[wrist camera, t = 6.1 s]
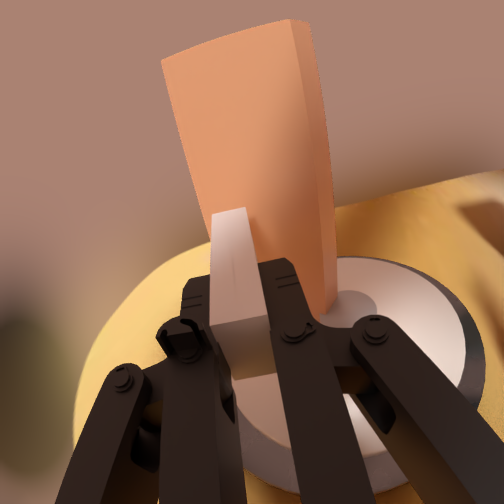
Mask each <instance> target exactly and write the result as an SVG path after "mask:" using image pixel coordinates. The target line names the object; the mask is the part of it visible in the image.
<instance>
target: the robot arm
mask: <svg viewBox="0 0 504 504" xmlns="http://www.w3.org/2000/svg"><path fill="white" fill-rule="evenodd" d="M155 338H156V339H157V341H158V343H159V344H160V346H161V347H162V349H163V351H164V352H165V354H166V355H167V358H166V359H165V360H163V361H161V362H160V363H158V364H155V365H153V366H150V367H148V368H146V369H143V370H141V368H140V367H139V366H138V365H135V364H132V363H126V364H122V365H119V366H117V367H115V368H114V369H113V370H112V371H110V373H109V374H108V375H107V377H106V379H105V381H104V383H103V385H102V387H101V389H100V391H99V394H98V396H97V398H96V400H95V402H94V405H93V407H92V409H91V411H90V414H89V416H88V418H87V421H86V423H85V425H84V428H83V430H82V433H81V435H80V437H79V440H78V442H77V445H76V447H75V450H74V452H73V455H72V457H71V460H70V463H69V465H68V468H67V471H66V473H65V476H64V479H63V481H62V484H61V487H60V490H59V493H58V496H57V499H56V502H55V504H157V502H158V499H159V504H247V497H246V488H245V480H244V471H243V462H242V452H241V442H240V433H239V422H238V412H237V401H236V394H235V391H234V389H233V387H232V380H231V375H232V377H233V379H234V381H236V380H242V379H247V378H253V377H258V376H263V375H268V374H273V373H277V376H278V381H279V386H280V392H281V397H282V402H283V407H284V413H285V418H286V423H287V428H288V434H289V439H290V444H291V449H292V455H293V460H294V465H295V471H296V476H297V481H298V486H299V492H300V497H301V502H302V504H376V501H375V498H374V494H373V491H372V487H371V484H370V480H369V477H368V473H367V470H366V466H365V463H364V460H363V456H362V453H361V450H360V447H359V443H358V440H357V437H356V434H355V430H354V427H353V424H352V421H351V418H350V415H349V412H348V408H347V405H346V402H345V399H344V396H343V394H349V396H350V397H351V398H352V400H353V401H354V403H355V404H356V406H357V407H358V409H359V410H360V411H361V413H362V414H363V416H364V417H365V419H366V420H367V422H368V423H369V424H370V426H371V427H372V429H373V430H374V432H375V433H376V435H377V436H378V438H379V439H380V440H381V442H382V443H383V445H384V446H385V448H386V449H387V451H388V452H389V453H390V455H391V456H392V458H393V459H394V461H395V462H396V463H397V465H398V466H399V468H400V469H401V471H402V472H403V474H404V475H405V476H406V478H407V479H408V481H409V482H410V484H411V485H412V487H413V488H414V489H415V491H416V492H417V494H418V495H419V497H420V498H421V500H422V501H423V502H424V504H504V443H503V441H502V440H501V439H500V438H499V437H498V435H497V434H496V433H495V432H494V430H493V429H492V428H491V427H490V426H489V424H488V423H487V422H486V421H485V420H484V419H483V417H482V416H481V415H480V414H479V413H478V411H477V410H476V409H475V408H474V407H473V406H472V405H471V403H470V402H469V401H468V400H467V399H466V398H465V397H464V395H463V394H462V393H461V392H460V391H459V390H458V389H457V388H456V386H455V385H454V384H453V383H452V382H451V381H450V380H449V379H448V378H447V376H446V375H445V374H444V373H443V372H442V371H441V370H440V369H439V368H438V367H437V366H436V364H435V363H434V362H433V361H432V360H431V359H430V358H429V357H428V356H427V355H426V354H425V353H424V352H423V351H422V350H421V348H420V347H419V346H418V345H417V344H416V343H415V342H414V341H413V340H412V339H411V338H410V337H409V336H408V335H407V334H406V333H405V332H404V331H403V330H402V329H401V328H400V327H399V326H398V325H397V324H396V323H395V322H394V321H393V320H391V319H390V318H389V317H386V316H382V315H367V316H364V317H361V318H360V319H359V320H357V321H356V322H355V323H354V325H353V327H352V328H335V327H329V326H325V325H323V324H321V323H319V322H318V321H317V320H316V319H315V318H314V317H313V316H312V314H311V312H310V309H309V306H308V303H307V300H306V298H305V295H304V292H303V289H302V287H301V284H300V281H299V278H298V276H297V273H296V270H295V268H294V265H293V264H292V263H291V262H290V261H289V260H287V259H286V258H285V257H283V258H279V259H274V260H270V261H265V262H261V263H258V261H257V256H256V251H255V247H254V243H253V238H252V234H251V229H250V225H249V220H248V216H247V211H246V207H242V208H238V209H233V210H229V211H224V212H220V213H216V214H212V224H211V257H210V274H209V275H205V276H200V277H195V278H191V279H189V280H188V282H187V283H186V285H185V287H184V288H183V293H182V301H181V310H180V316H178V317H175V318H172V319H170V320H169V321H167V322H165V323H164V324H163V325H162V326H161V327H160V329H159V330H158V332H157V334H156V337H155Z"/></svg>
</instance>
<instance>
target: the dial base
mask: <svg viewBox="0 0 504 504" xmlns="http://www.w3.org/2000/svg"><path fill="white" fill-rule="evenodd" d="M337 258H365V259H373V260H379V261H384V262H388V263H391V264H395V265H398V266H400V267H403V268H406V269H408V270H410V271H412V272H414V273H416V274H418V275H420V276H421V277H423V278H424V279H426V280H428V281H429V282H430V283H431V284H433V285H434V286H435V287H436V288H437V289H438V290H439V291H440V292H441V293H442V294H443V295H444V296H445V297H446V298H447V300H448V301H449V302H450V303H451V305H452V306H453V308H454V310H455V312H456V313H457V315H458V318H459V320H460V323H461V325H462V328H463V333H464V338H465V350H466V354H465V363H464V369H463V372H462V376H461V379H460V382H459V384H458V386H457V389H458V390H459V391H460V392H461V393H462V394H463V395H464V397H465V398H466V399H467V400H468V401H469V402H470V403H471V405H472V406H473V407H474V408H475V409H476V410H477V408H478V406H479V403H480V400H481V397H482V393H483V388H484V382H485V366H486V363H485V354H484V347H483V343H482V340H481V336H480V333H479V331H478V329H477V326H476V324H475V322H474V320H473V318H472V317H471V315H470V313H469V312H468V310H467V309H466V307H465V306H464V305H463V304H462V303H461V301H460V300H459V299H458V298H457V297H456V296H455V295H454V294H453V293H452V292H451V291H450V290H449V289H448V288H446V287H445V286H444V285H442V284H441V283H440V282H438V281H437V280H435V279H434V278H432V277H430V276H429V275H427V274H425V273H423V272H421V271H419V270H416V269H414V268H412V267H409V266H406V265H403V264H400V263H397V262H393V261H389V260H385V259H379V258H372V257H361V256H340V257H337ZM237 412H238V422H239V433H240V442H241V452H242V462H243V468H244V469H246V470H247V471H248V472H249V473H250V474H252V475H253V476H255V477H257V478H258V479H260V480H262V481H264V482H265V483H267V484H269V485H271V486H273V487H276V488H278V489H281V490H283V491H286V492H288V493H291V494H295V495H300V492H299V486H298V481H297V476H296V471H295V465H294V460H293V455H292V451H291V450H288V449H286V448H283V447H281V446H280V445H278V444H276V443H275V442H273V441H271V440H270V439H268V438H266V437H265V436H264V435H263V434H261V433H260V432H259V431H258V430H257V429H255V428H254V427H253V426H252V425H251V423H250V422H249V421H248V420H247V419H246V418H245V417H244V415H243V414H242V412H241V411H240V409H239V408H238V406H237ZM363 460H364V463H365V466H366V470H367V473H368V477H369V480H370V484H371V487H372V491H373V494H374V495H375V494H379V493H383V492H386V491H389V490H391V489H394V488H396V487H398V486H401V485H403V484H405V483H407V482H409V481H408V479H407V478H406V476H405V475H404V474H403V472H402V471H401V469H400V468H399V466H398V465H397V463H396V462H395V461H394V459H393V458H392V456H391V455H390V453H389V452H388V451H387V452H385V453H382V454H379V455H375V456H371V457H366V458H363Z"/></svg>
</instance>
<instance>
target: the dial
mask: <svg viewBox="0 0 504 504" xmlns="http://www.w3.org/2000/svg"><path fill="white" fill-rule="evenodd" d="M161 64H162V68H163V72H164V76H165V80H166V84H167V88H168V92H169V96H170V100H171V104H172V108H173V111H174V115H175V119H176V123H177V127H178V130H179V134H180V138H181V141H182V144H183V148H184V152H185V155H186V159H187V163H188V166H189V170H190V173H191V177H192V180H193V184H194V187H195V190H196V194H197V197H198V201H199V204H200V208H201V211H202V214H203V218H204V221H205V224H206V228H207V231H208V234H209V237H210V241H211V224H212V214H216V213H220V212H224V211H229V210H233V209H238V208H242V207H246V211H247V216H248V220H249V225H250V229H251V234H252V238H253V243H254V247H255V251H256V256H257V261H258V263H261V262H265V261H270V260H274V259H279V258H283V257H285V258H286V259H287V260H289V261H290V262H291V263H292V264H293V265H294V268H295V270H296V273H297V276H298V278H299V281H300V284H301V287H302V289H303V292H304V295H305V298H306V300H307V303H308V306H309V309H310V312H311V314H312V316H313V317H314V318H315V319H316V320H317V321H318V322H319V323H321V324H323V325H325V326H329V327H335V328H352V327H353V325H354V323H355V322H356V321H357V320H359V319H360V318H361V317H364V316H367V315H382V316H386V317H389V318H390V319H391V320H393V321H394V322H395V323H396V324H397V325H398V326H399V327H400V328H401V329H402V330H403V331H404V332H405V333H406V334H407V335H408V336H409V337H410V338H411V339H412V340H413V341H414V342H415V343H416V344H417V345H418V346H419V347H420V348H421V350H422V351H423V352H424V353H425V354H426V355H427V356H428V357H429V358H430V359H431V360H432V361H433V362H434V363H435V364H436V366H437V367H438V368H439V369H440V370H441V371H442V372H443V373H444V374H445V375H446V376H447V378H448V379H449V380H450V381H451V382H452V383H453V384H454V385H455V386H456V388H457V386H458V384H459V382H460V379H461V376H462V372H463V369H464V363H465V354H466V350H465V338H464V333H463V328H462V325H461V323H460V320H459V318H458V315H457V313H456V312H455V310H454V308H453V306H452V305H451V303H450V302H449V301H448V300H447V298H446V297H445V296H444V295H443V294H442V293H441V292H440V291H439V290H438V289H437V288H436V287H435V286H434V285H433V284H431V283H430V282H429V281H428V280H426V279H424V278H423V277H421V276H420V275H418V274H416V273H414V272H412V271H410V270H408V269H406V268H403V267H400V266H398V265H395V264H391V263H388V262H384V261H379V260H373V259H365V258H337V247H336V226H335V210H334V196H333V183H332V172H331V162H330V152H329V143H328V134H327V126H326V119H325V111H324V105H323V98H322V92H321V85H320V78H319V73H318V67H317V62H316V56H315V50H314V46H313V40H312V36H311V31H310V26H309V23H308V22H304V21H298V20H293V19H286V20H282V21H278V22H273V23H269V24H265V25H261V26H257V27H253V28H249V29H246V30H242V31H239V32H236V33H233V34H229V35H226V36H223V37H220V38H217V39H214V40H211V41H208V42H205V43H203V44H200V45H197V46H195V47H192V48H189V49H187V50H185V51H182V52H179V53H177V54H175V55H172V56H170V57H168V58H165V59H163V60H161ZM231 380H232V387H233V389H234V391H235V394H236V401H237V406H238V408H239V409H240V411H241V412H242V414H243V415H244V417H245V418H246V419H247V420H248V421H249V422H250V423H251V425H252V426H253V427H254V428H255V429H257V430H258V431H259V432H260V433H261V434H263V435H264V436H265V437H266V438H268V439H270V440H271V441H273V442H275V443H276V444H278V445H280V446H281V447H283V448H286V449H288V450H291V451H292V449H291V444H290V439H289V434H288V428H287V423H286V418H285V413H284V407H283V402H282V397H281V392H280V386H279V381H278V376H277V373H273V374H268V375H263V376H258V377H253V378H247V379H242V380H236V381H234V379H233V377H232V375H231ZM343 396H344V399H345V402H346V405H347V408H348V412H349V415H350V418H351V421H352V424H353V427H354V430H355V434H356V437H357V440H358V443H359V447H360V450H361V453H362V456H363V458H366V457H371V456H375V455H379V454H382V453H385V452H387V449H386V448H385V446H384V445H383V443H382V442H381V440H380V439H379V438H378V436H377V435H376V433H375V432H374V430H373V429H372V427H371V426H370V424H369V423H368V422H367V420H366V419H365V417H364V416H363V414H362V413H361V411H360V410H359V409H358V407H357V406H356V404H355V403H354V401H353V400H352V398H351V397H350V396H349V394H343Z"/></svg>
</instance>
